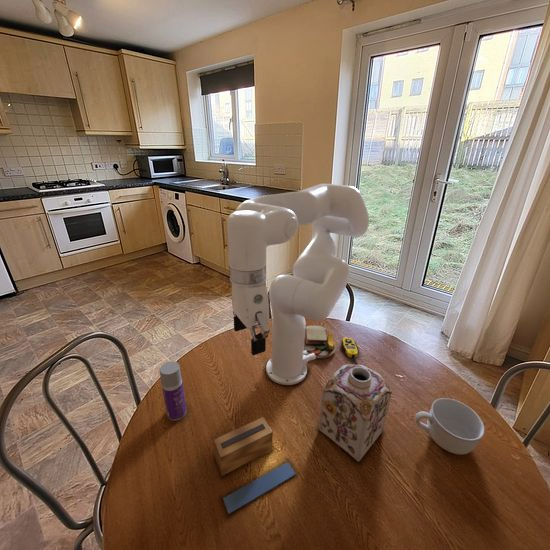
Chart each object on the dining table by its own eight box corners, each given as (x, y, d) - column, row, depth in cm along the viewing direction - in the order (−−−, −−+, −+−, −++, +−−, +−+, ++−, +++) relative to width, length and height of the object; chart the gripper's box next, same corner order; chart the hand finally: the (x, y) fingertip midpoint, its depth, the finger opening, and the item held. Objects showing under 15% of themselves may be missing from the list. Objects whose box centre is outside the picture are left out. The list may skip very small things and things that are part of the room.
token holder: (263, 434, 70) (263, 416, 67) (272, 449, 67) (272, 431, 64) (215, 457, 65) (213, 439, 62) (222, 476, 61) (220, 457, 59)
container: (180, 422, 72) (173, 376, 66) (163, 418, 73) (154, 373, 67) (189, 407, 77) (183, 362, 70) (173, 404, 77) (165, 359, 71)
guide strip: (288, 462, 64) (288, 461, 64) (295, 475, 62) (295, 474, 62) (223, 499, 57) (222, 498, 57) (228, 514, 55) (228, 513, 55)
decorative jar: (343, 402, 79) (352, 349, 72) (383, 430, 72) (398, 374, 64) (315, 429, 71) (322, 373, 64) (357, 464, 64) (371, 405, 56)
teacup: (468, 428, 73) (477, 404, 70) (480, 469, 64) (492, 445, 60) (408, 411, 77) (414, 389, 74) (411, 448, 68) (419, 424, 64)
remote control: (353, 336, 103) (366, 366, 90) (353, 341, 104) (365, 370, 90) (340, 336, 103) (350, 365, 89) (339, 340, 104) (350, 370, 90)
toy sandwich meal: (298, 357, 95) (298, 346, 93) (300, 333, 107) (301, 322, 105) (336, 362, 94) (338, 350, 92) (334, 336, 106) (336, 325, 104)
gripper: (285, 285, 55) (282, 357, 62) (247, 256, 68) (248, 318, 76) (248, 294, 51) (250, 369, 59) (216, 261, 65) (220, 325, 72)
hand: (249, 340), depth 67 cm, fingers open, 9 cm apart
